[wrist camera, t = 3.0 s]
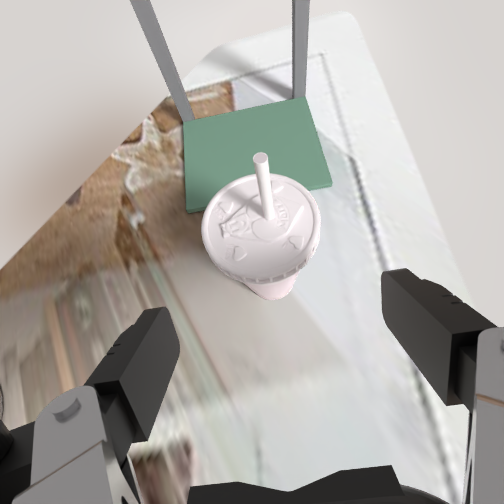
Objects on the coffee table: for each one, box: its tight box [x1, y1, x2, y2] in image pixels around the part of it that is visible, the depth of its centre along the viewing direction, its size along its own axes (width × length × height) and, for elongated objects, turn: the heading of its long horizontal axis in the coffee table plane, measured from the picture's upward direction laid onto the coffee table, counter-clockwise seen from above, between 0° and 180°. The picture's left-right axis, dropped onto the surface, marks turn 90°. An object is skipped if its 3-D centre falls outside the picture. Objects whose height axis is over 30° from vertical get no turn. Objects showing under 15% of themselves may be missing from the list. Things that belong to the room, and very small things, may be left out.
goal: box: [130, 0, 333, 213], centre depth 23 cm, size 14×13×14 cm
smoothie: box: [201, 152, 321, 300], centre depth 17 cm, size 6×6×14 cm
